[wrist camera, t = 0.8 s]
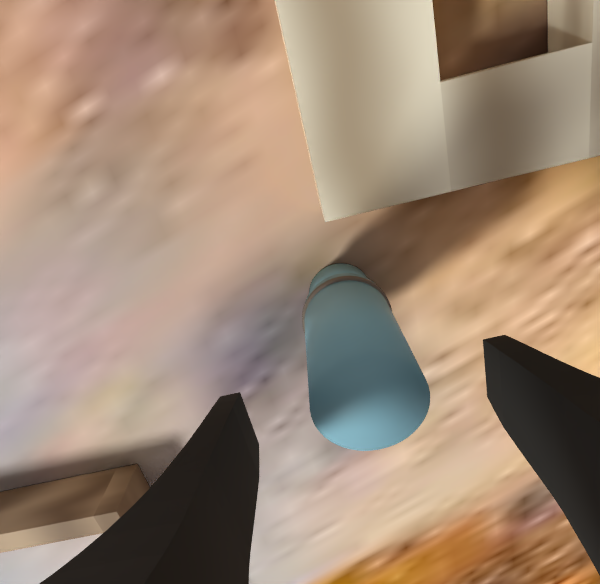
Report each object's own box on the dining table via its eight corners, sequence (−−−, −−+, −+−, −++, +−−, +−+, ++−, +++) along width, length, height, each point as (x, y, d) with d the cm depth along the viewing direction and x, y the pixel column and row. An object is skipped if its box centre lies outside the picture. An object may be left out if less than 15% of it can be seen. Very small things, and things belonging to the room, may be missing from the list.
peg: (371, 246, 18) (424, 337, 11) (384, 317, 20) (439, 439, 12) (292, 265, 19) (293, 365, 11) (310, 333, 20) (322, 462, 13)
